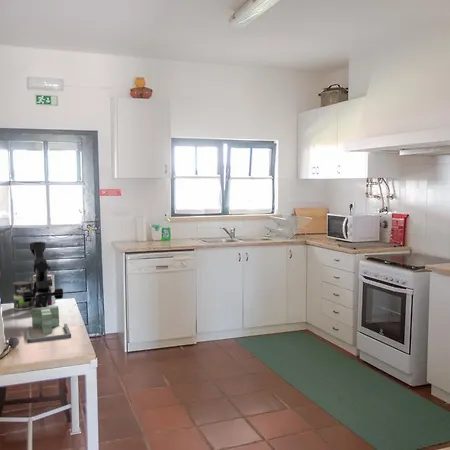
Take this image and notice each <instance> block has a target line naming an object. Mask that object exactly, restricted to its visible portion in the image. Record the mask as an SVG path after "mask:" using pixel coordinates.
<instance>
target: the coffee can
mask: <svg viewBox="0 0 450 450" xmlns="http://www.w3.org/2000/svg"><path fill="white" fill-rule="evenodd" d="M12 289H13V290H12V291H13V295H12V296H13V309H14V310H17V311H24V310H30V309H32V308H35V307H34V306H35V304H33V298H32V300H31V301H30V302H23V293H24V292H28V291H31V292H32V289H33V281H32V280H19V281H18V280H17V281H15V282H12Z"/></svg>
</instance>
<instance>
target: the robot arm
mask: <svg viewBox="0 0 450 450" xmlns="http://www.w3.org/2000/svg"><path fill="white" fill-rule="evenodd" d="M28 247H29V249H28V250H29V251H30V255H31V256H32V258H33V259H34V260H33V264H32V271H33V273H34V275H36V282H35V283H34V289H32V292H31V291H28V292H24V293H23V302H30V301H31V300H32V298H33V300H35V301H36V304H35V308H42V307H48V305H49V304H48V302H49V301H51V296H55V300H58V299H59V300H60V299H63V298H64V290H63V288H62V287H60V288H55V291H54V292H50V289H49V286H52V279H49V280H48V277H47V275H49V271H50V270H51V266H50V265H49V263H48V261H47V259H46V258H45V257H44V254H45V251H46V248H47V247H46V243H45V242H44V241H34V242H31V243H29V244H28Z"/></svg>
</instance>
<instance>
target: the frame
mask: <svg viewBox="0 0 450 450" xmlns="http://www.w3.org/2000/svg"><path fill="white" fill-rule="evenodd" d="M68 326H69V325H68V323H63V328H64V330H65V332H66V333H65V334H57V335H49V336H42V337H35V338H31V336H30V328H29V327H28V328H25V336H26V343H27V344H32V343H41V342H48V341H56V340H62V339H63V340H64V339H69V338H72V333H71V331H70V328H69V327H68Z"/></svg>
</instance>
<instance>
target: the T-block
mask: <svg viewBox="0 0 450 450" xmlns="http://www.w3.org/2000/svg"><path fill="white" fill-rule="evenodd" d="M59 314H60V312H59V305H53V306H51V305H50V306H47V307H42V308H36V307H33V308H31V320H32V321H31V326H32V330H36V329H41V331H42V334H43V335H47V334H52V333H53V327H60V315H59Z"/></svg>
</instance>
